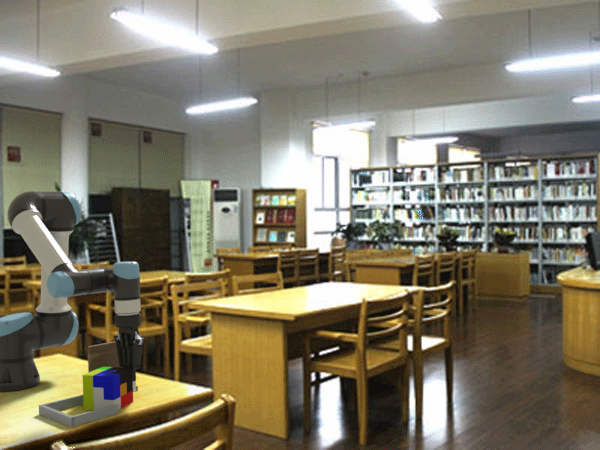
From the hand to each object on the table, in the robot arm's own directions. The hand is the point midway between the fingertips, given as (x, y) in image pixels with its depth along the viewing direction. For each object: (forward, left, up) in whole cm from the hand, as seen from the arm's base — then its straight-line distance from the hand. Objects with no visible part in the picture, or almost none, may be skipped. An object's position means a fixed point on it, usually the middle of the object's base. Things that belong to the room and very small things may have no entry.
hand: (130, 391), depth 186 cm
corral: (0, -17, -2) cm, 17 cm away
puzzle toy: (0, -7, -3) cm, 8 cm away
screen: (-10, 0, -2) cm, 11 cm away
